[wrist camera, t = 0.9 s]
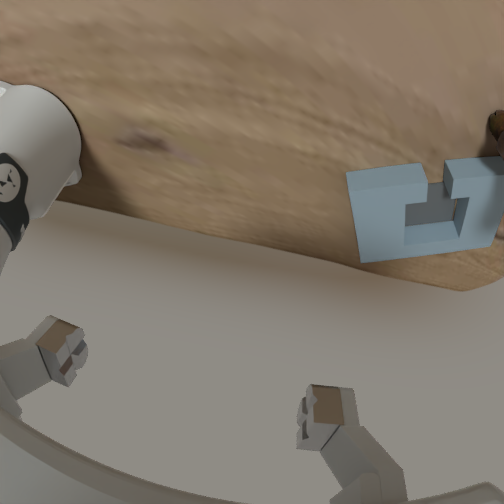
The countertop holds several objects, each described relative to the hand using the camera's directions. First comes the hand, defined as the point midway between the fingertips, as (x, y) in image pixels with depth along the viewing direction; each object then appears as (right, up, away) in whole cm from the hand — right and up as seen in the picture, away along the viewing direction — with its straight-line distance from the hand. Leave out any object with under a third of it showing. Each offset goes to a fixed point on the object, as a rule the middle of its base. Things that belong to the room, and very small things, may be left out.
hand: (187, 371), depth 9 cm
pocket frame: (+24, +10, +23) cm, 34 cm away
